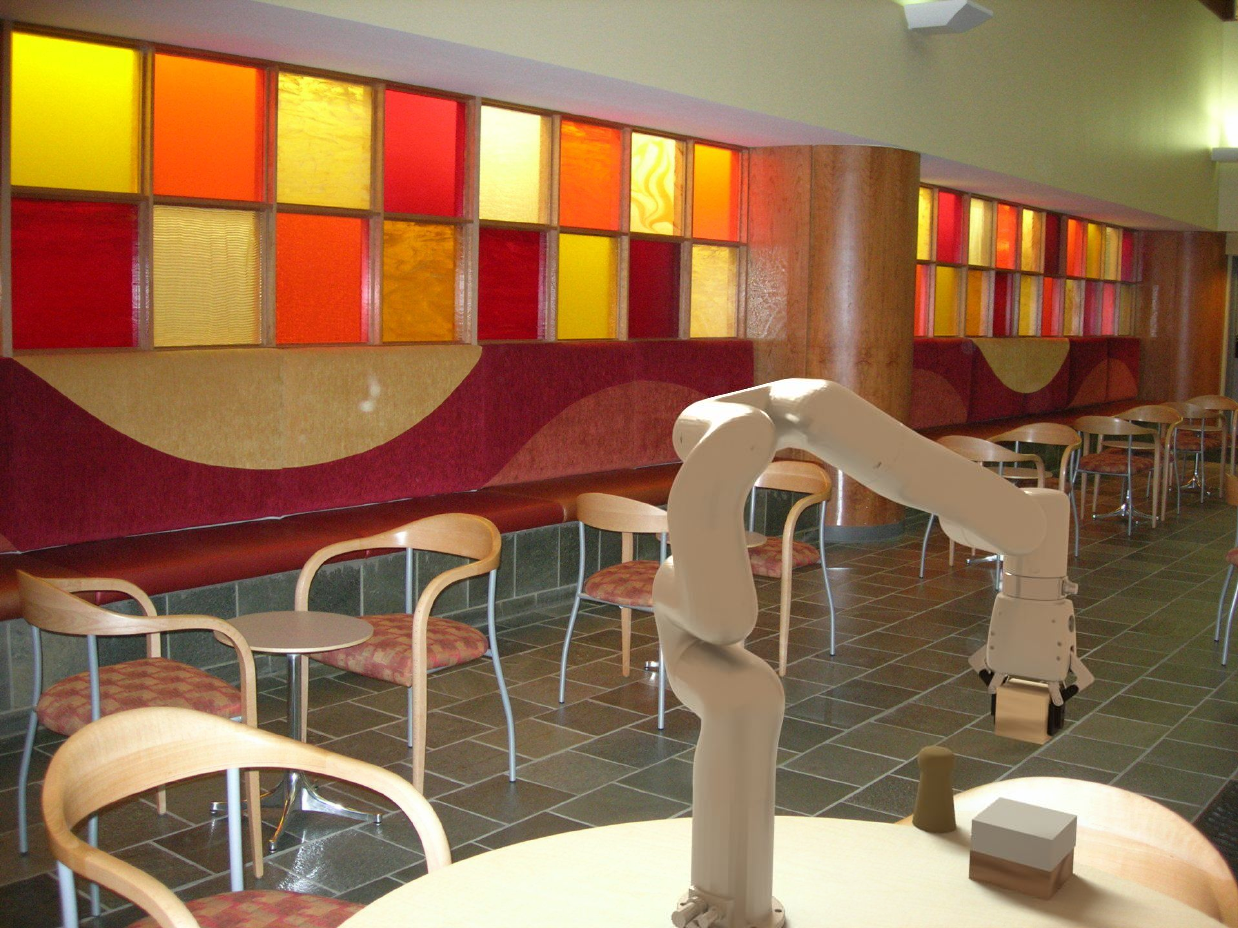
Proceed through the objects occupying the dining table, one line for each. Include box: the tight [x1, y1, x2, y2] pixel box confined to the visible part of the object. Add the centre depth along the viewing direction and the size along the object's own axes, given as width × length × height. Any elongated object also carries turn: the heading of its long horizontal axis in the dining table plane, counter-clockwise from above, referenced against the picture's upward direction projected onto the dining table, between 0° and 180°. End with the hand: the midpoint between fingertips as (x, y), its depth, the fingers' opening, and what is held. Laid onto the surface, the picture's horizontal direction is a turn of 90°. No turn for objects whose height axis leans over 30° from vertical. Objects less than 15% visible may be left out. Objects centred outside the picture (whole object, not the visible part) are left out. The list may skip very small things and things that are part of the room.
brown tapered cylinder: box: [911, 745, 957, 834], centre depth 168 cm, size 6×6×11 cm
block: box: [994, 677, 1057, 746], centre depth 150 cm, size 6×6×6 cm
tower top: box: [970, 796, 1078, 872], centre depth 152 cm, size 10×10×4 cm
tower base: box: [968, 847, 1075, 902], centre depth 152 cm, size 10×10×4 cm
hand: (1026, 726), depth 150 cm, fingers closed on block, 6 cm apart
